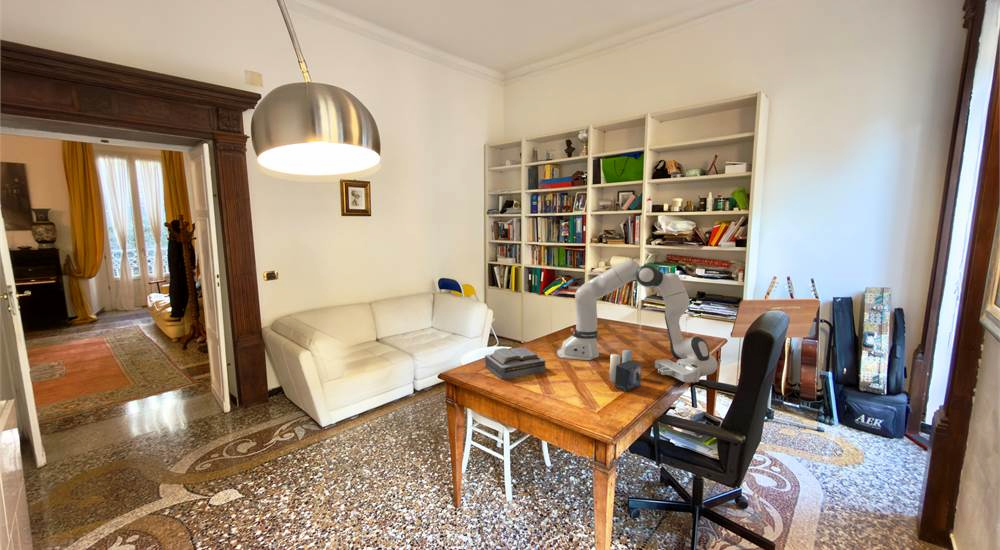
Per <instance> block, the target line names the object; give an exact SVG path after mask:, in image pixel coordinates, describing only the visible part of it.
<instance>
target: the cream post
mask: <svg viewBox="0 0 1000 550" xmlns="http://www.w3.org/2000/svg"><path fill="white" fill-rule="evenodd" d="M609 357H610V358H609V361H610V362H609V382H610V383H615V378H616V365H618V364H621V355H620V354H617V353H611V354H610V356H609Z"/></svg>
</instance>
